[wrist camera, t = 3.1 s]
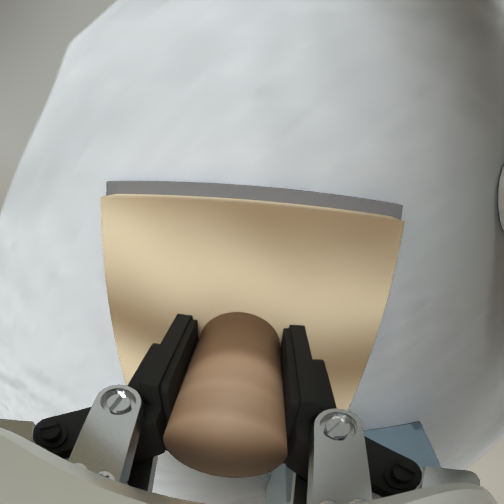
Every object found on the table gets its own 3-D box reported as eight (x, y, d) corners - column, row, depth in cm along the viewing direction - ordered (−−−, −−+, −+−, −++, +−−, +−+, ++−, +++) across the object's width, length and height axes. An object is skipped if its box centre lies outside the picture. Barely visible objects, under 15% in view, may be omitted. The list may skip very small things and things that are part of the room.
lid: (116, 193, 10) (-2, 224, 4) (390, 216, 10) (500, 267, 4) (140, 395, 13) (100, 479, 7) (334, 414, 13) (354, 506, 7)
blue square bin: (283, 434, 14) (286, 501, 9) (419, 421, 14) (443, 471, 9) (265, 491, 17) (264, 536, 12) (370, 482, 17) (380, 522, 12)
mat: (111, 181, 10) (106, 181, 10) (398, 204, 10) (402, 205, 10) (136, 394, 14) (134, 399, 13) (338, 414, 14) (340, 419, 13)
